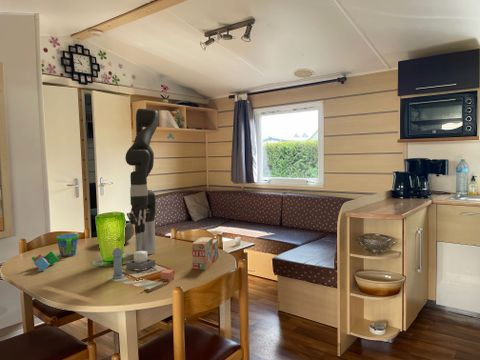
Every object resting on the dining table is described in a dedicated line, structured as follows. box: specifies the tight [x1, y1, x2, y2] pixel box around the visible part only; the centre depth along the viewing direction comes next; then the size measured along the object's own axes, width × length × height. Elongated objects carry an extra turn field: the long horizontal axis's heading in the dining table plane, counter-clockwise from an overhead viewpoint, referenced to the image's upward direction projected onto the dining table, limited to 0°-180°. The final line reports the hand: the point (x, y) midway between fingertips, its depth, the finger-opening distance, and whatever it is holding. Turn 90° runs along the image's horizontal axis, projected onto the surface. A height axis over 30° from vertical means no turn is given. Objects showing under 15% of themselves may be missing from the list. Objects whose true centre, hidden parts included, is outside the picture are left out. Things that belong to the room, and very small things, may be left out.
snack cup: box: [55, 233, 80, 258], centre depth 195 cm, size 16×10×10 cm
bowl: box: [125, 220, 135, 243], centre depth 221 cm, size 18×18×13 cm
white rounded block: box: [133, 250, 149, 264], centre depth 169 cm, size 6×6×5 cm
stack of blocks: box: [191, 236, 219, 271], centre depth 180 cm, size 21×6×12 cm, turn 167°
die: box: [160, 268, 175, 283], centre depth 155 cm, size 4×4×4 cm
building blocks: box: [31, 251, 60, 272], centre depth 174 cm, size 8×8×12 cm
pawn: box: [111, 247, 125, 280], centre depth 155 cm, size 4×4×12 cm
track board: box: [107, 276, 164, 293], centre depth 151 cm, size 24×8×1 cm, turn 60°
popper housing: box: [125, 258, 156, 270], centre depth 170 cm, size 9×9×4 cm
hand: (140, 232), depth 169 cm, fingers closed
